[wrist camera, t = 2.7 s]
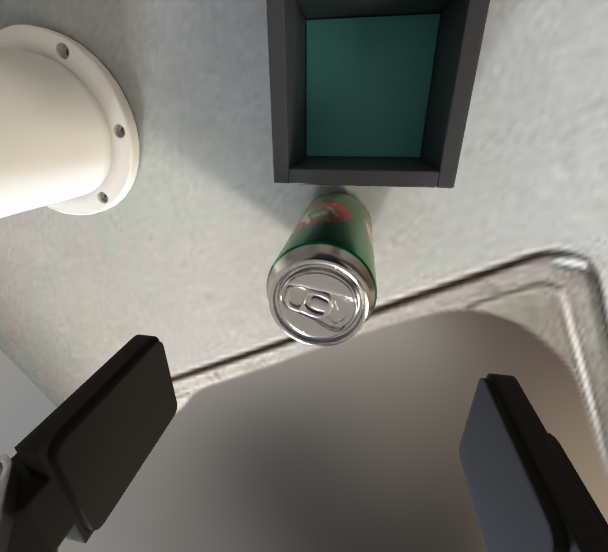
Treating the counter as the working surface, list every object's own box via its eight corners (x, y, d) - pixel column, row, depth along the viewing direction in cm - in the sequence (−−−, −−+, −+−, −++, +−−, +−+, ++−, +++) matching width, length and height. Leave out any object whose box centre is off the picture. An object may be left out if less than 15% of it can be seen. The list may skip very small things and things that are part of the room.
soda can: (355, 264, 26) (350, 368, 15) (295, 242, 26) (247, 330, 15) (382, 205, 23) (399, 277, 13) (316, 180, 23) (277, 232, 13)
